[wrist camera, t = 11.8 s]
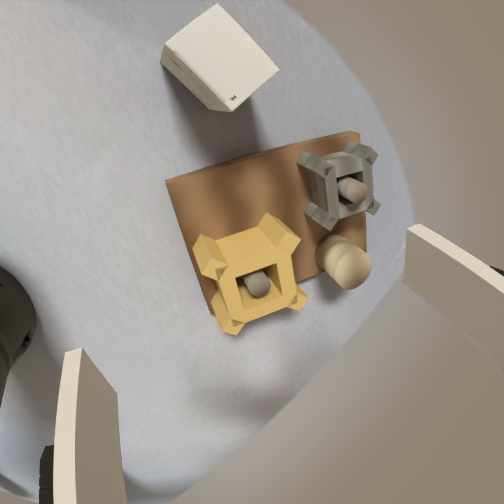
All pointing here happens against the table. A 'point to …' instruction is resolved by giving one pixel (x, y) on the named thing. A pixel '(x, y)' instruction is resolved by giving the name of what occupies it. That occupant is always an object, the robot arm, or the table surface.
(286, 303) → the tan notched block
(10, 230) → the table surface
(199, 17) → the small box
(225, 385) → the table surface
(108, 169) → the table surface
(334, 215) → the board
